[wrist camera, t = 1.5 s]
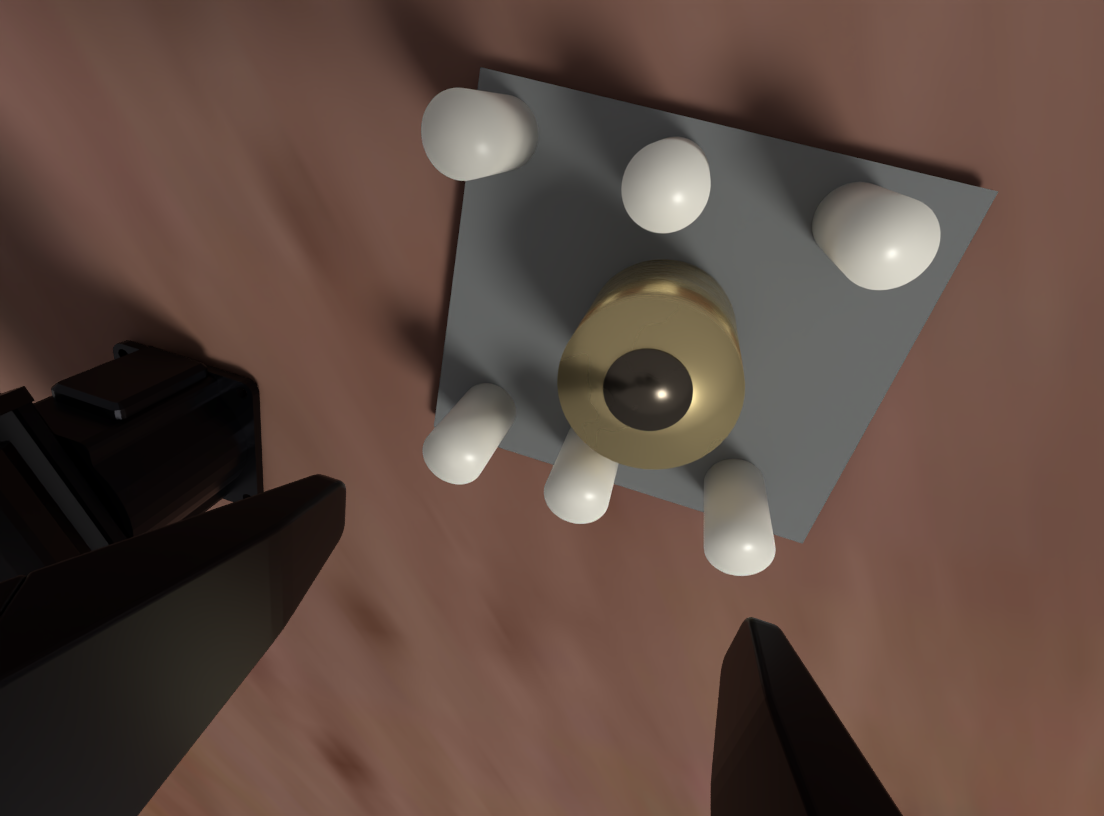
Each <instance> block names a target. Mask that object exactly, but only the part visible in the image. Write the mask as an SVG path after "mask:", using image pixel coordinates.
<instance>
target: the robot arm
mask: <svg viewBox="0 0 1104 816" xmlns="http://www.w3.org/2000/svg"><path fill="white" fill-rule="evenodd" d="M113 353H114V359H115V360H112V361H110V362H107V363H105V364H102V365H100V366H97V367H95V368H92V369H90V370H87V371H85V372H82V373H80V374H77V375H75V376H72V377H70V378H67V379H65V380H62V381H60V382H58V383H56V384H55V385H54V386H53V387H52V388H51V391H52V395H53V396H50V397H48V398H45V399H43V400H41V401H38V402H36V403H32V401H34V399H33V397H32V396H31V394H30V393H29V392H28V390H27V389H26V387H25V386H23V387H20V388H16V389H13V390H10V391H7V392H4V393H0V816H138V815H139V813H140V812H141V811H142V809H143V808H144V807H145V806H146V804H147V803H148V802H149V800H150V799H151V798H152V797H153V795H154V794H155V793H156V792H157V790H158V789H159V788H160V786H161V785H162V784H163V783H164V781H165V780H166V779H167V777H168V776H169V775H170V774H171V772H172V771H173V770H174V769H175V767H176V766H177V765H178V763H179V762H180V761H181V760H182V758H183V757H184V756H185V754H186V753H187V752H188V751H189V749H190V748H191V747H192V746H193V744H194V743H195V742H196V740H197V739H198V738H199V737H200V735H201V734H202V733H203V731H204V730H205V729H206V728H207V726H208V725H209V724H210V723H211V721H212V720H213V719H214V717H215V716H216V715H217V714H218V712H219V711H220V710H221V708H222V707H223V706H224V705H225V703H226V702H227V701H228V700H229V698H230V697H231V696H232V694H233V693H234V692H235V691H236V689H237V688H238V687H239V685H240V684H241V683H242V682H243V680H244V679H245V678H246V677H247V675H248V674H249V673H250V671H251V670H252V669H253V668H254V666H255V665H256V664H257V662H258V661H259V660H260V659H261V657H262V656H263V655H264V654H265V652H266V651H267V650H268V648H269V647H270V646H271V645H272V643H273V642H274V641H275V639H276V638H277V637H278V635H279V634H280V633H281V631H282V630H283V629H284V627H285V626H286V624H287V623H288V621H289V619H290V618H291V616H292V615H293V613H294V612H295V610H296V609H297V607H298V605H299V604H300V602H301V601H302V599H303V597H304V596H305V594H306V593H307V591H308V589H309V588H310V586H311V585H312V583H313V581H314V580H315V578H316V577H317V575H318V574H319V572H320V570H321V569H322V567H323V566H324V564H325V562H326V561H327V559H328V558H329V556H330V554H331V553H332V551H333V550H334V548H335V546H336V545H337V543H338V542H339V540H340V538H341V536H342V533H343V530H344V525H345V507H346V487H345V484H344V483H343V482H342V481H340V480H337V479H334V478H331V477H328V476H325V475H321V474H316V475H312V476H309V477H306V478H303V479H301V480H298V481H295V482H292V483H289V484H286V485H283V486H280V487H277V488H274V489H271V490H268V491H265V492H263V468H262V444H261V420H260V396H259V389H258V387H257V385H256V384H255V383H254V382H253V381H252V380H250V379H248V378H245V377H242V376H239V375H236V374H233V373H230V372H227V371H223V370H220V369H217V368H214V367H211V366H208V365H205V364H203V363H201V362H199V361H196V360H192V359H189V358H186V357H183V356H180V355H177V354H174V353H170V352H167V351H164V350H161V349H158V348H155V347H152V346H145V345H142V344H139V343H136V342H132V341H127V340H126V341H124V342H121V343H118V344H116V345H115V346H114V347H113ZM244 389H245V391H246V392H247V393H246V392H245V391H244ZM222 498H223V499H226V500H229V501H232V502H233V503H230V504H228V505H225V506H222V507H219V508H216V509H213V510H210V511H207V510H208V509H209V508H211V507H212V506H213V505H215V504H216V503H217V502H219V501H220V500H221V499H222ZM206 511H207V512H206ZM711 816H903V815H902V814H901V812H900V811H899V809H898V807H897V806H896V804H895V803H894V801H893V800H892V798H891V797H890V795H889V794H888V792H887V791H886V789H885V788H884V786H883V785H882V783H881V782H880V780H879V778H878V777H877V775H876V774H875V772H874V771H873V769H872V768H871V766H870V765H869V763H868V762H867V760H866V759H865V757H864V756H863V754H862V752H861V751H860V749H859V748H858V746H857V745H856V743H855V742H854V740H853V739H852V737H851V736H850V734H849V733H848V731H847V730H846V728H845V727H844V725H843V723H842V722H841V720H840V719H839V717H838V716H837V714H836V713H835V711H834V710H833V708H832V707H831V705H830V704H829V702H828V701H827V699H826V697H825V696H824V694H823V693H822V691H821V690H820V688H819V687H818V685H817V684H816V682H815V681H814V679H813V678H812V676H811V675H810V673H809V671H808V670H807V668H806V667H805V665H804V664H803V662H802V661H801V659H800V658H799V656H798V655H797V653H796V652H795V650H794V649H793V647H792V646H791V644H790V642H789V641H788V639H787V638H786V636H785V635H784V633H783V632H782V630H781V629H780V628H779V627H778V626H776V625H774V624H771V623H768V622H765V621H762V620H759V619H756V618H753V617H749V618H747V619H745V620H744V621H743V623H742V625H741V626H740V628H739V630H738V632H737V634H736V636H735V638H734V640H733V641H732V643H731V645H730V647H729V649H728V651H727V653H726V655H725V657H724V660H723V664H722V668H721V676H720V687H719V697H718V708H717V719H716V730H715V741H714V752H713V762H712V775H711Z"/></svg>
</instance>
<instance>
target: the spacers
mask: <svg viewBox="0 0 1104 816" xmlns="http://www.w3.org/2000/svg"><path fill="white" fill-rule="evenodd" d="M421 136H422V142H423V146H424V150H425V152H426V154H427V156H428V158H429V160H430V161H431V163H432V164H433V165H434V166H435V168H436V169H437V170H439V171H440V172H441V173H442V174H444V175H445V176H447V177H449V178H452V179H454V180H459V181H468V180H474V179H478V178H482V177H486V176H490V175H494V174H499V173H503V172H507V171H511V170H515V169H518V168H520V167H522V166H523V165H525V164H526V163H527V162H528V161H529V160H530V158H531V157H532V156H533V154H534V152H535V149H536V147H537V143H538V126H537V121H536V119H535V116H534V114H533V112H532V111H531V109H530V108H529V107H528V105H527V104H526V103H525V102H523V101H522V100H521V99H519V98H517V97H515V96H512V95H506V94H500V93H493V92H486V91H479V90H473V89H466V88H450V89H447V90H444V91H442V92H440V93H439V94H438V95H436V96H435V97H434V98H433V99H432V100H431V102H430V103H429V104H428V106H427V108H426V110H425V112H424V115H423V119H422V125H421ZM710 188H711V179H710V170H709V163H708V160H707V157H706V155H705V153H704V151H703V150H702V149H701V148H700V147H699V146H698V145H697V144H696V143H695V142H693V141H691V140H689V139H687V138H683V137H668V138H665V139H662V140H659V141H656V142H654V143H651V144H649V145H647V146H645V147H644V148H642V149H641V150H640V151H639V152H638V153H637V154H636V155H634V157H633V158H632V159H631V161H630V162H629V164H628V165H627V168H626V170H625V172H624V175H623V179H622V187H621V192H622V200H623V203H624V207H625V209H626V211H627V213H628V214H629V216H630V217H631V218H632V220H633V221H634V222H635V223H637V224H638V225H639V226H641V227H642V228H644V229H646V230H648V231H651V232H655V233H671V232H675V231H678V230H681V229H683V228H685V227H687V226H688V225H690V224H691V223H692V222H693V221H695V220H696V218H697V217H698V216H699V215H700V214H701V212H702V211H703V209H704V207H705V206H706V203H707V201H708V198H709V194H710ZM812 232H813V237H814V239H815V242H816V243H817V245H818V246H819V247H820V249H821V250H822V251H823V252H824V253H825V254H826V255H827V256H828V257H829V258H830V259H831V260H832V262H833V263H834V264H835V265H836V266H837V267H838V268H839V269H840V270H841V271H842V272H843V273H844V274H845V276H846V277H847V278H848V279H849V280H851V281H852V282H853V283H855V284H856V285H858V286H860V287H863V288H866V289H871V290H888V289H893V288H897V287H900V286H902V285H905V284H907V283H909V282H910V281H912V280H914V279H915V278H917V277H918V276H919V275H920V274H921V273H923V272H924V271H925V269H926V268H927V267H928V266H929V265H930V263H931V262H932V260H933V259H934V257H935V255H936V253H937V251H938V247H939V244H940V233H941V232H940V226H939V222H938V219H937V217H936V215H935V214H934V213H933V211H932V210H931V209H930V208H929V207H928V206H927V205H925V204H924V203H922V202H920V201H918V200H916V199H913V198H911V197H908V196H905V195H902V194H899V193H897V192H894V191H891V190H888V189H885V188H883V187H880V186H877V185H874V184H871V183H867V182H853V183H848V184H845V185H842V186H840V187H838V188H836V189H835V190H833V191H832V192H830V193H829V194H828V195H827V196H826V197H825V198H824V199H823V200H822V201H821V203H820V204H819V206H818V207H817V209H816V211H815V214H814V217H813V221H812ZM515 417H516V407H515V404H514V401H513V399H512V398H511V396H510V395H509V394H508V393H507V392H506V391H505V390H504V389H503V388H501V387H499V386H497V385H494V384H491V383H481V384H477V385H475V386H473V387H471V388H470V389H469V390H468V391H467V393H466V394H465V395H464V396H463V397H462V398H461V399H460V400H459V402H458V403H457V404H456V405H455V406H454V407H453V408H452V409H451V411H450V412H449V413H448V414H447V415H446V416H445V417H444V418H443V420H442V421H441V422H440V423H439V424H438V425H437V426H436V427H435V429H434V430H433V431H432V432H431V433H430V434H429V435H428V437H427V438H426V439H425V441H424V444H423V457H424V460H425V462H426V464H427V466H428V468H429V469H430V470H431V471H432V472H433V473H434V474H435V475H436V476H437V477H439V478H440V479H442V480H444V481H446V482H449V483H452V484H467V483H470V482H472V481H474V480H475V479H476V478H477V477H478V476H479V475H480V473H481V472H482V470H483V469H484V467H485V466H486V464H487V463H488V461H489V459H490V458H491V456H492V455H493V453H494V452H495V450H496V448H497V447H498V445H499V444H500V442H501V441H502V439H503V438H504V436H505V434H506V433H507V431H508V430H509V428H510V427H511V425H512V424H513V422H514V420H515ZM618 464H619V463H617V462H614V461H612V460H610V459H608V458H606V457H604V456H602V455H600V454H599V453H597V452H596V451H594V450H593V449H592V448H590V447H589V446H588V445H587V444H586V443H584V442H583V440H582V439H581V438H580V437H579V436H578V435H577V434H576V433H575V431H574V430H573V429H572V427H571V428H570V430H569V432H568V434H567V436H566V439H565V441H564V443H563V445H562V448H561V450H560V452H559V454H558V457H557V459H556V461H555V463H554V466H553V468H552V470H551V472H550V475H549V477H548V479H547V481H546V484H545V487H544V497H545V501H546V503H547V505H548V507H549V508H550V509H551V511H552V512H553V513H554V514H556V515H557V516H558V517H560V518H561V519H563V520H565V521H568V522H571V523H577V524H585V523H590V522H593V521H595V520H597V519H599V518H600V517H601V516H602V515H603V514H604V513H605V512H606V510H607V507H608V504H609V500H610V496H611V492H612V488H613V484H614V480H615V476H616V472H617V468H618ZM704 552H705V555H706V557H707V559H708V561H709V562H710V563H711V564H712V565H713V566H714V567H715V568H717V569H718V570H720V571H722V572H724V573H727V574H731V575H736V576H747V575H752V574H756V573H758V572H760V571H762V570H764V569H765V568H767V567H768V566H769V565H770V564H771V562H772V561H773V559H774V556H775V542H774V536H773V530H772V524H771V518H770V512H769V506H768V500H767V494H766V488H765V482H764V478H763V475H762V473H761V472H760V470H759V469H758V468H757V467H756V466H755V465H753V464H751V463H750V462H747V461H745V460H741V459H727V460H723V461H720V462H718V463H716V464H714V465H713V466H712V467H711V468H710V469H709V470H708V471H707V473H706V475H705V478H704Z"/></svg>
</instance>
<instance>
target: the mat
mask: <svg viewBox="0 0 1104 816" xmlns="http://www.w3.org/2000/svg"><path fill="white" fill-rule="evenodd" d="M477 90H479V91H486V92H493V93H500V94H506V95H512V96H515V97H517V98H519V99H521V100H522V101H523V102H525V103H526V104H527V105H528V107H529V108H530V109H531V111H532V112H533V114H534V116H535V119H536V121H537V126H538V143H537V147H536V149H535V152H534V154H533V156H532V157H531V158H530V160H529V161H528V162H527V163H526V164H525V165H523V166H522V167H520V168H518V169H515V170H511V171H507V172H503V173H499V174H494V175H490V176H486V177H482V178H478V179H474V180H468V181H466V182H465V190H464V198H463V205H462V213H461V221H460V229H459V236H458V244H457V252H456V260H455V267H454V275H453V283H452V291H451V298H450V306H449V314H448V322H447V329H446V337H445V345H444V353H443V360H442V368H441V376H440V384H439V391H438V399H437V407H436V415H435V422H434V427H436V426H437V425H438V424H439V423H440V422H441V421H442V420H443V418H444V417H445V416H446V415H447V414H448V413H449V412H450V411H451V409H452V408H453V407H454V406H455V405H456V404H457V403H458V402H459V400H460V399H461V398H462V397H463V396H464V395H465V394H466V393H467V391H468V390H469V389H470V388H471V387H473V386H475V385H477V384H481V383H491V384H494V385H497V386H499V387H501V388H503V389H504V390H505V391H506V392H507V393H508V394H509V395H510V396H511V398H512V399H513V401H514V404H515V407H516V417H515V420H514V422H513V424H512V425H511V427H510V428H509V430H508V431H507V433H506V434H505V436H504V438H503V439H502V441H501V442H500V444H499V445H498V447H499V448H502V449H505V450H509V451H512V452H515V453H518V454H521V455H524V456H528V457H531V458H534V459H537V460H540V461H543V462H547V463H550V464H553V465H554V463H555V461H556V459H557V457H558V454H559V452H560V450H561V448H562V445H563V443H564V441H565V439H566V436H567V434H568V432H569V430H570V428H571V426H570V424H569V422H568V420H567V419H566V417H565V415H564V412H563V410H562V407H561V404H560V400H559V396H558V387H557V376H558V369H559V363H560V360H561V357H562V354H563V352H564V349H565V347H566V345H567V343H568V342H569V340H570V338H571V337H572V335H573V334H574V332H575V330H576V329H577V327H578V326H579V324H580V323H581V321H582V319H583V318H584V316H585V315H586V313H587V311H588V310H589V308H590V307H591V305H592V303H593V302H594V300H595V299H596V297H597V295H598V294H599V292H600V291H601V289H602V288H603V287H604V286H605V285H606V283H607V282H608V281H609V280H610V279H611V278H613V277H614V276H615V275H616V274H618V273H619V272H621V271H622V270H624V269H626V268H628V267H630V266H632V265H634V264H637V263H640V262H643V261H648V260H656V259H669V260H677V261H682V262H685V263H688V264H691V265H693V266H695V267H697V268H699V269H701V270H703V271H704V272H706V273H707V274H709V275H710V276H711V277H712V278H713V279H715V280H716V281H717V282H718V284H719V285H720V286H721V287H722V288H723V290H724V291H725V293H726V294H727V296H728V298H729V300H730V302H731V304H732V307H733V311H734V314H735V319H736V326H737V332H738V339H739V345H740V351H741V358H742V364H743V371H744V379H745V396H744V402H743V407H742V410H741V413H740V416H739V418H738V420H737V422H736V424H735V426H734V428H733V429H732V430H731V432H730V433H729V435H728V436H727V437H726V438H725V439H724V440H723V441H722V443H721V444H720V445H719V446H717V447H716V448H715V449H714V450H712V451H711V452H710V453H708V454H707V455H705V456H703V457H702V458H700V459H698V460H695V461H693V462H691V463H688V464H685V465H682V466H679V467H674V468H669V469H658V470H655V469H640V468H633V467H629V466H625V465H622V464H618V468H617V472H616V476H615V480H614V484H616V485H619V486H622V487H626V488H629V489H632V490H635V491H638V492H641V493H645V494H648V495H651V496H654V497H657V498H660V499H664V500H667V501H670V502H673V503H676V504H679V505H682V506H686V507H689V508H692V509H695V510H698V511H701V512H704V478H705V475H706V473H707V471H708V470H709V469H710V468H711V467H712V466H713V465H714V464H716V463H718V462H720V461H723V460H727V459H741V460H745V461H747V462H750V463H751V464H753V465H755V466H756V467H757V468H758V469H759V470H760V472H761V473H762V475H763V478H764V482H765V488H766V494H767V500H768V506H769V512H770V518H771V524H772V530H773V534H774V535H777V536H780V537H784V538H787V539H790V540H793V541H796V542H799V543H803V542H804V540H805V538H806V536H807V534H808V533H809V531H810V529H811V527H812V525H813V524H814V522H815V520H816V518H817V516H818V515H819V513H820V511H821V509H822V507H823V506H824V504H825V502H826V500H827V498H828V497H829V495H830V493H831V491H832V489H833V488H834V486H835V484H836V482H837V480H838V479H839V477H840V475H841V473H842V471H843V470H844V468H845V466H846V464H847V462H848V461H849V459H850V457H851V455H852V454H853V452H854V450H855V448H856V446H857V445H858V443H859V441H860V439H861V437H862V436H863V434H864V432H865V430H866V428H867V427H868V425H869V423H870V421H871V419H872V418H873V416H874V414H875V412H876V410H877V409H878V407H879V405H880V403H881V401H882V400H883V398H884V396H885V394H886V392H887V391H888V389H889V387H890V385H891V383H892V382H893V380H894V378H895V376H896V374H897V373H898V371H899V369H900V367H901V366H902V364H903V362H904V360H905V358H906V357H907V355H908V353H909V351H910V349H911V348H912V346H913V344H914V342H915V340H916V339H917V337H918V335H919V333H920V331H921V330H922V328H923V326H924V324H925V322H926V321H927V319H928V317H929V315H930V313H931V312H932V310H933V308H934V306H935V304H936V303H937V301H938V299H939V297H940V295H941V294H942V292H943V290H944V288H945V286H946V285H947V283H948V281H949V279H950V277H951V276H952V274H953V272H954V270H955V269H956V267H957V265H958V263H959V261H960V260H961V258H962V256H963V254H964V252H965V251H966V249H967V247H968V245H969V243H970V242H971V240H972V238H973V236H974V234H975V233H976V231H977V229H978V227H979V225H980V224H981V222H982V220H983V218H984V216H985V215H986V213H987V211H988V209H989V207H990V206H991V204H992V202H993V200H994V198H995V197H996V195H997V193H998V192H997V191H993V190H989V189H985V188H981V187H977V186H973V185H968V184H964V183H960V182H956V181H952V180H948V179H943V178H939V177H935V176H931V175H927V174H923V173H918V172H914V171H910V170H906V169H902V168H898V167H894V166H889V165H885V164H881V163H877V162H873V161H869V160H864V159H860V158H856V157H852V156H848V155H844V154H839V153H835V152H831V151H827V150H823V149H819V148H815V147H810V146H806V145H802V144H798V143H794V142H790V141H785V140H781V139H777V138H773V137H769V136H765V135H760V134H756V133H752V132H748V131H744V130H740V129H736V128H731V127H727V126H723V125H719V124H715V123H711V122H706V121H702V120H698V119H694V118H690V117H686V116H681V115H677V114H673V113H669V112H665V111H661V110H657V109H652V108H648V107H644V106H640V105H636V104H632V103H627V102H623V101H619V100H615V99H611V98H607V97H602V96H598V95H594V94H590V93H586V92H582V91H578V90H573V89H569V88H565V87H561V86H557V85H553V84H548V83H544V82H540V81H536V80H532V79H528V78H523V77H519V76H515V75H511V74H507V73H503V72H499V71H494V70H490V69H486V68H482V67H480V74H479V81H478V89H477ZM668 137H683V138H687V139H689V140H691V141H693V142H695V143H696V144H697V145H698V146H699V147H700V148H701V149H702V150H703V151H704V153H705V155H706V157H707V160H708V163H709V170H710V179H711V188H710V194H709V198H708V201H707V203H706V206H705V207H704V209H703V211H702V212H701V214H700V215H699V216H698V217H697V218H696V220H695V221H693V222H692V223H691V224H690V225H688V226H687V227H685V228H683V229H681V230H678V231H675V232H671V233H655V232H651V231H648V230H646V229H644V228H642V227H641V226H639V225H638V224H637V223H635V222H634V221H633V220H632V218H631V217H630V216H629V214H628V213H627V211H626V209H625V207H624V203H623V200H622V192H621V187H622V179H623V175H624V172H625V170H626V168H627V165H628V164H629V162H630V161H631V159H632V158H633V157H634V155H636V154H637V153H638V152H639V151H640V150H641V149H642V148H644V147H645V146H647V145H649V144H651V143H654V142H656V141H659V140H662V139H665V138H668ZM853 182H867V183H871V184H874V185H877V186H880V187H883V188H885V189H888V190H891V191H894V192H897V193H899V194H902V195H905V196H908V197H911V198H913V199H916V200H918V201H920V202H922V203H924V204H925V205H927V206H928V207H929V208H930V209H931V210H932V211H933V213H934V214H935V215H936V217H937V219H938V222H939V226H940V232H941V233H940V244H939V247H938V251H937V253H936V255H935V257H934V259H933V260H932V262H931V263H930V265H929V266H928V267H927V268H926V269H925V271H924V272H923V273H921V274H920V275H919V276H918V277H917V278H915V279H914V280H912V281H910V282H909V283H907V284H905V285H902V286H900V287H897V288H893V289H888V290H871V289H866V288H863V287H860V286H858V285H856V284H855V283H853V282H852V281H851V280H849V279H848V278H847V277H846V276H845V274H844V273H843V272H842V271H841V270H840V269H839V268H838V267H837V266H836V265H835V264H834V263H833V262H832V260H831V259H830V258H829V257H828V256H827V255H826V254H825V253H824V252H823V251H822V250H821V249H820V247H819V246H818V245H817V243H816V242H815V239H814V237H813V232H812V221H813V217H814V214H815V211H816V209H817V207H818V206H819V204H820V203H821V201H822V200H823V199H824V198H825V197H826V196H827V195H828V194H829V193H830V192H832V191H833V190H835V189H836V188H838V187H840V186H842V185H845V184H848V183H853Z"/></svg>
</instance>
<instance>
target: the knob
mask: <svg viewBox="0 0 1104 816" xmlns="http://www.w3.org/2000/svg"><path fill="white" fill-rule="evenodd" d="M557 387H558V396H559V400H560V404H561V407H562V410H563V412H564V415H565V417H566V419H567V420H568V422H569V424H570V426H571V427H572V429H573V430H574V431H575V433H576V434H577V435H578V436H579V437H580V438H581V439H582V440H583V442H584V443H586V444H587V445H588V446H589V447H590V448H592V449H593V450H594V451H596V452H597V453H599V454H600V455H602V456H604V457H606V458H608V459H610V460H612V461H614V462H617V463H619V464H622V465H625V466H629V467H633V468H640V469H655V470H658V469H669V468H674V467H679V466H682V465H685V464H688V463H691V462H693V461H695V460H698V459H700V458H702V457H703V456H705V455H707V454H708V453H710V452H711V451H712V450H714V449H715V448H716V447H717V446H719V445H720V444H721V443H722V441H723V440H724V439H725V438H726V437H727V436H728V435H729V433H730V432H731V430H732V429H733V428H734V426H735V424H736V422H737V420H738V418H739V416H740V413H741V410H742V407H743V402H744V396H745V379H744V371H743V364H742V358H741V351H740V345H739V339H738V332H737V326H736V319H735V314H734V311H733V307H732V304H731V302H730V300H729V298H728V296H727V294H726V293H725V291H724V290H723V288H722V287H721V286H720V285H719V284H718V282H717V281H716V280H715V279H713V278H712V277H711V276H710V275H709V274H707V273H706V272H704V271H703V270H701V269H699V268H697V267H695V266H693V265H691V264H688V263H685V262H682V261H677V260H669V259H656V260H648V261H643V262H640V263H637V264H634V265H632V266H630V267H628V268H626V269H624V270H622V271H621V272H619V273H618V274H616V275H615V276H614V277H613V278H611V279H610V280H609V281H608V282H607V283H606V285H605V286H604V287H603V288H602V289H601V291H600V292H599V294H598V295H597V297H596V299H595V300H594V302H593V303H592V305H591V307H590V308H589V310H588V311H587V313H586V315H585V316H584V318H583V319H582V321H581V323H580V324H579V326H578V327H577V329H576V330H575V332H574V334H573V335H572V337H571V338H570V340H569V342H568V343H567V345H566V347H565V349H564V352H563V354H562V357H561V360H560V363H559V369H558V376H557Z"/></svg>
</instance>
